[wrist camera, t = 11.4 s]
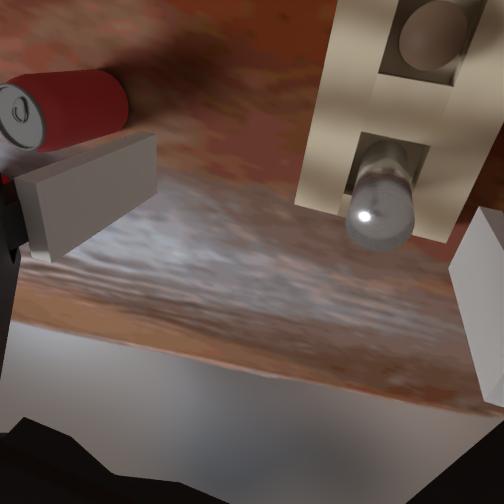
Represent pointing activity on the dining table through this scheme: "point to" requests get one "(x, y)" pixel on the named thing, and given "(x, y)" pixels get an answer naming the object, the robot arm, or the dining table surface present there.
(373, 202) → the steel pin
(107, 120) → the beer can
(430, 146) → the socket block
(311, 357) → the dining table surface
